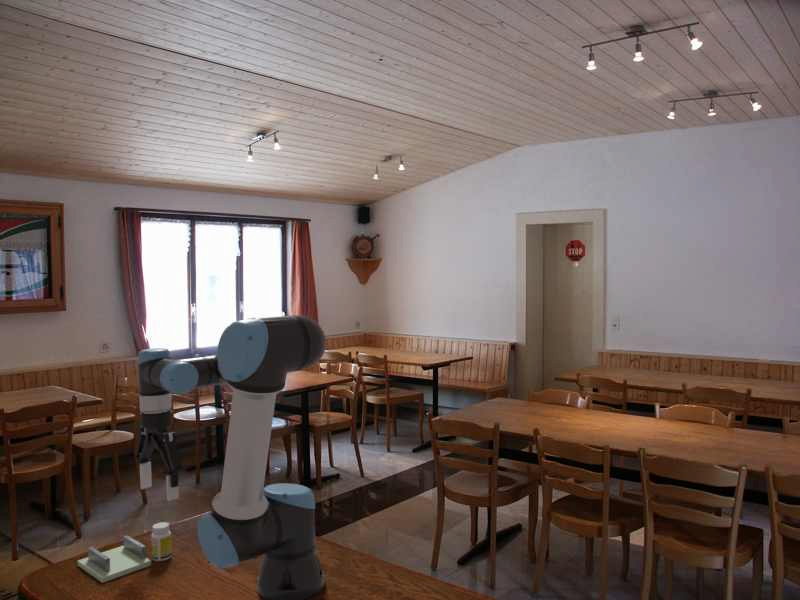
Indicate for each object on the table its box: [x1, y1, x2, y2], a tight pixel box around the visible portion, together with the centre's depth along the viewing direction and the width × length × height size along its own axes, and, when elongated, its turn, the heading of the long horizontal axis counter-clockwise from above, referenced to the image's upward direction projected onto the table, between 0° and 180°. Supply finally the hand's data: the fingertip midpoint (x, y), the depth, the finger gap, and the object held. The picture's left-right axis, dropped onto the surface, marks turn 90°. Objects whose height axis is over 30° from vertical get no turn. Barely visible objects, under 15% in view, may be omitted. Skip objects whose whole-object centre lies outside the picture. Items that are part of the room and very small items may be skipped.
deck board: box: [77, 544, 152, 584], centre depth 164 cm, size 14×12×1 cm
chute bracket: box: [87, 535, 147, 572], centre depth 165 cm, size 10×10×3 cm
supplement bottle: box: [150, 521, 173, 562], centre depth 168 cm, size 5×5×8 cm
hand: (159, 493), depth 167 cm, fingers open, 13 cm apart
